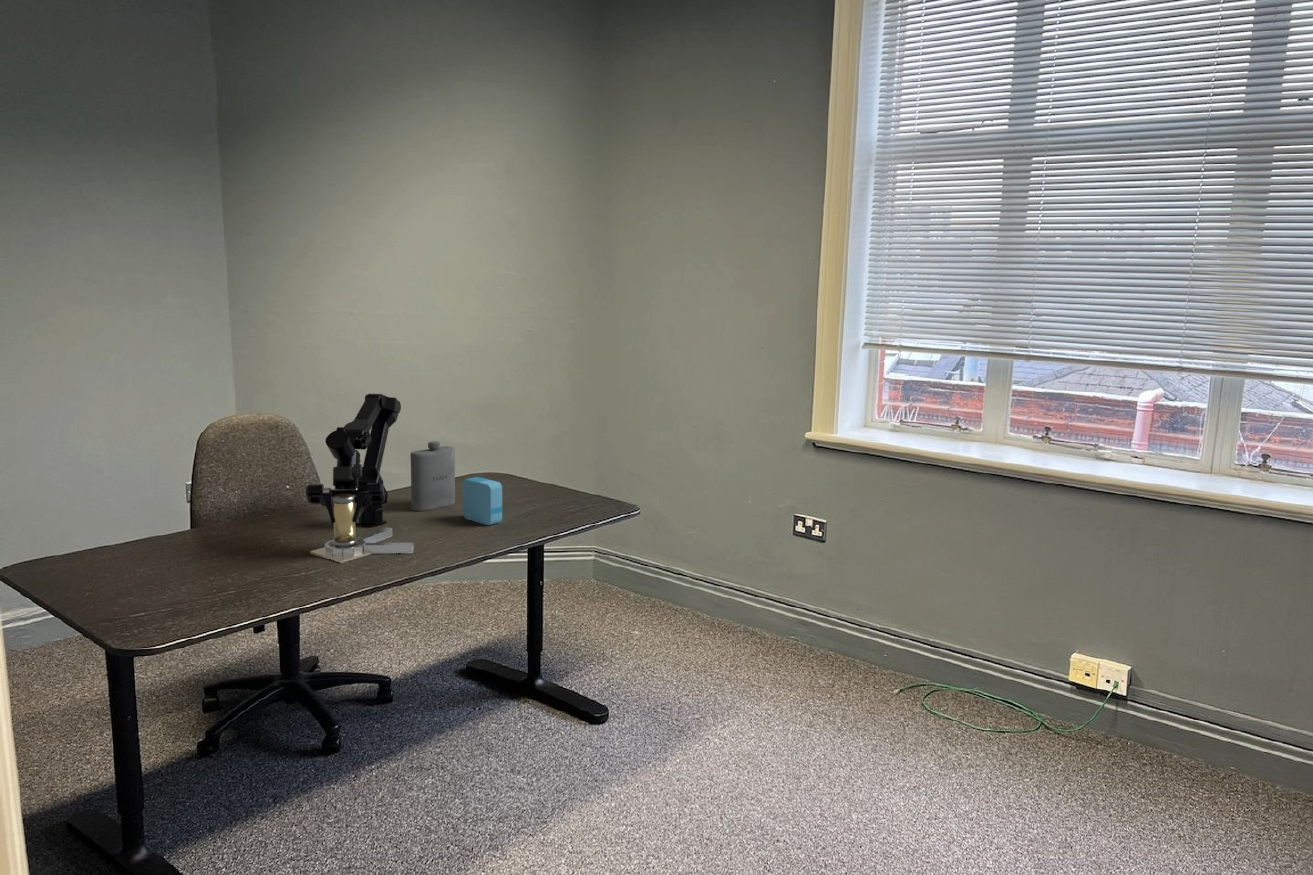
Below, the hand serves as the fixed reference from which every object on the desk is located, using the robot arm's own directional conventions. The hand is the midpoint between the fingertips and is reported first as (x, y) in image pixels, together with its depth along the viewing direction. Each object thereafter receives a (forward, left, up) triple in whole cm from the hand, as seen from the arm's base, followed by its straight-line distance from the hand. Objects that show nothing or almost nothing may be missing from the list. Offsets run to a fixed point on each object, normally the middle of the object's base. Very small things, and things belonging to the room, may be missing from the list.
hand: (343, 522), depth 233 cm
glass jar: (-1, +1, -7) cm, 7 cm away
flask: (-17, +46, -9) cm, 50 cm away
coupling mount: (+3, +6, -8) cm, 11 cm away
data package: (+5, +44, -9) cm, 45 cm away
